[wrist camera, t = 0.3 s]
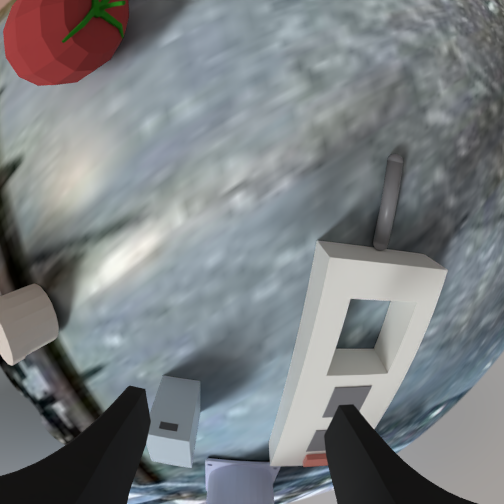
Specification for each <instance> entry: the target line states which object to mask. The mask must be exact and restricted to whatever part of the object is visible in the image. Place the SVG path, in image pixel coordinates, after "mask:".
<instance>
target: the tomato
mask: <svg viewBox="0 0 504 504" xmlns="http://www.w3.org/2000/svg"><path fill="white" fill-rule="evenodd" d="M128 18H129V4H128V0H17V1H16V2H15V3H14V4H13V6H12V8H11V11H10V13H9V16H8V19H7V22H6V24H5V27H4V30H3V33H4V45H5V54H6V58H7V60H8V61H9V63H10V64H11V66H12V67H13V69H14V70H15V72H16V73H17V75H18V76H19V77H20V78H23V79H25V80H27V81H29V82H31V83H34V84H36V85H38V86H41V85H58V84H66V83H75V82H78V81H79V80H81V79H82V78H84V77H85V76H87V75H88V74H90V73H91V72H93V71H94V70H96V69H97V68H99V67H100V66H102V65H103V64H104V63H106V62H107V61H109V60H110V59H111V58H112V56H113V54H114V53H115V51H116V49H117V48H118V46H119V44H120V43H121V41H122V39H123V38H124V34H125V30H126V26H127V22H128Z"/></svg>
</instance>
